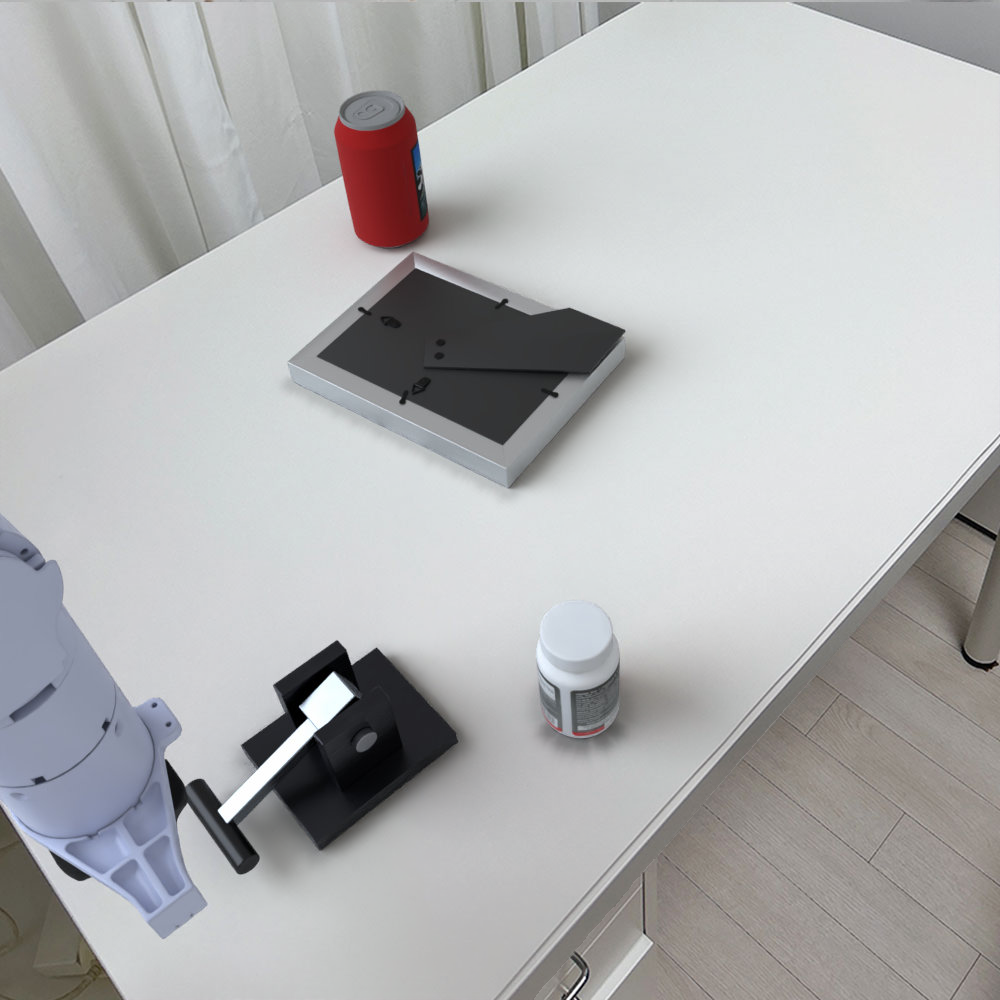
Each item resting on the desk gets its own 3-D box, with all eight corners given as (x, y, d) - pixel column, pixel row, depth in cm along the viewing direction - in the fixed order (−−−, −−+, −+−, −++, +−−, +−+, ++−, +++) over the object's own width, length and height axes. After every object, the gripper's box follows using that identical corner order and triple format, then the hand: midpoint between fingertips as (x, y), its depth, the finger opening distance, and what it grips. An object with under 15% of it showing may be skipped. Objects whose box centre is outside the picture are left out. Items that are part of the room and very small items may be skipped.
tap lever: (250, 878, 60) (227, 871, 58) (195, 801, 63) (171, 792, 61) (393, 729, 61) (376, 718, 59) (333, 661, 65) (314, 648, 63)
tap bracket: (319, 851, 62) (293, 799, 57) (245, 754, 66) (214, 697, 61) (458, 742, 65) (446, 683, 60) (379, 657, 70) (361, 595, 64)
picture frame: (625, 357, 86) (416, 271, 94) (625, 329, 83) (411, 243, 92) (508, 488, 78) (292, 381, 86) (505, 462, 76) (284, 354, 84)
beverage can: (446, 227, 98) (430, 103, 89) (390, 264, 95) (368, 140, 86) (394, 199, 101) (374, 77, 92) (339, 234, 98) (312, 112, 89)
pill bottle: (628, 681, 67) (630, 604, 61) (607, 749, 64) (607, 675, 58) (553, 662, 68) (548, 584, 62) (530, 728, 66) (522, 653, 59)
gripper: (232, 784, 38) (312, 917, 49) (53, 542, 46) (155, 703, 56) (47, 920, 36) (174, 1030, 46) (-110, 641, 43) (29, 790, 54)
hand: (155, 857), depth 51 cm, fingers closed
